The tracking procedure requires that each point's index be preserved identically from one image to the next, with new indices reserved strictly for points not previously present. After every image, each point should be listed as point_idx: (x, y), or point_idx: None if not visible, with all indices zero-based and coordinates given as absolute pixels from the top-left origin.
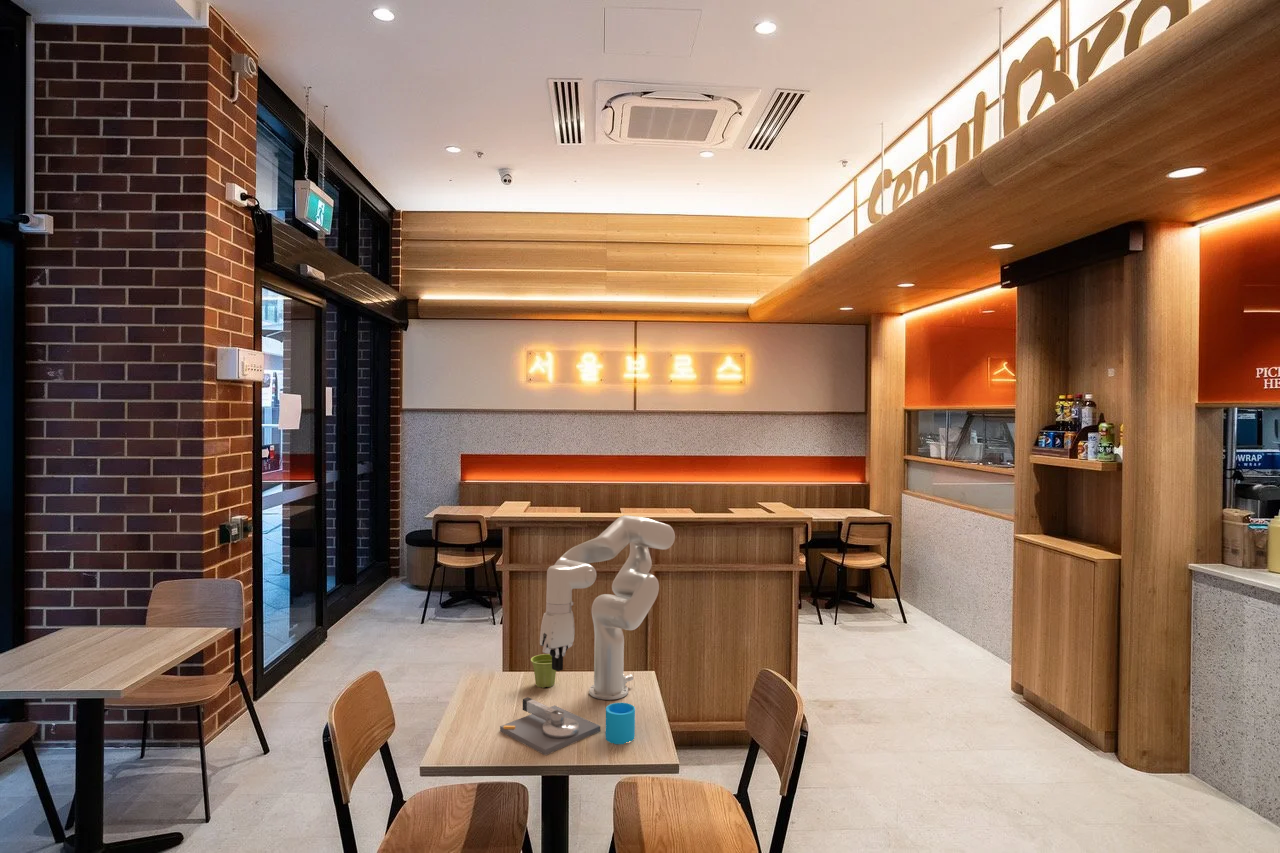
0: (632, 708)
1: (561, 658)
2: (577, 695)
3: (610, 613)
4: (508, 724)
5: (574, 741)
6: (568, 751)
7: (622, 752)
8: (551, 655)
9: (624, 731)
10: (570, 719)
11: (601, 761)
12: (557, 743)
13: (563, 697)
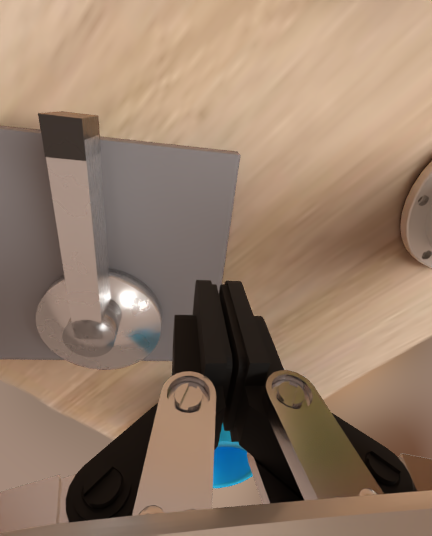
0: (240, 478)
1: (228, 427)
2: (409, 118)
3: None
4: None
5: None
6: (70, 366)
7: None
8: (153, 414)
9: None
10: (153, 321)
11: (101, 426)
12: (47, 356)
13: (366, 79)
